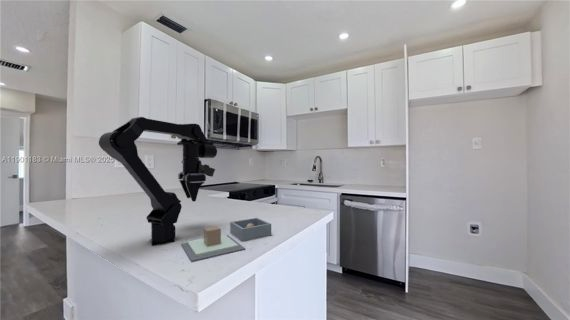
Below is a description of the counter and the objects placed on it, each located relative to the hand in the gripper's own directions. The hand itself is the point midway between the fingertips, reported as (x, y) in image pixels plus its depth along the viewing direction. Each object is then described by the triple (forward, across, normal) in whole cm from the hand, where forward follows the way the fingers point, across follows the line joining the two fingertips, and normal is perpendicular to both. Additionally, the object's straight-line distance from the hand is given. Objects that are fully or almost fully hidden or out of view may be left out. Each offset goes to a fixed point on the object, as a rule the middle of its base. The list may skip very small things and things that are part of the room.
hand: (191, 199), depth 85 cm
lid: (+12, -20, -2) cm, 23 cm away
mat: (+12, -20, -2) cm, 23 cm away
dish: (+12, -15, -17) cm, 26 cm away
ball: (+10, -15, -17) cm, 25 cm away
